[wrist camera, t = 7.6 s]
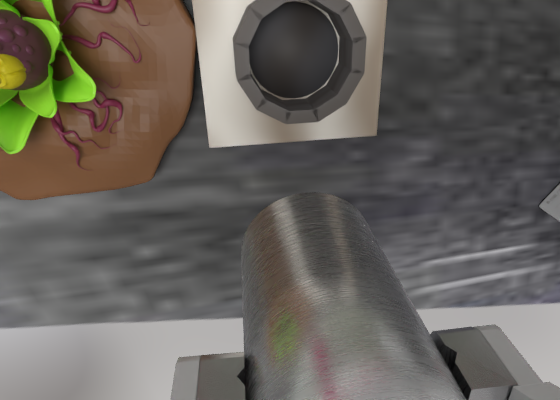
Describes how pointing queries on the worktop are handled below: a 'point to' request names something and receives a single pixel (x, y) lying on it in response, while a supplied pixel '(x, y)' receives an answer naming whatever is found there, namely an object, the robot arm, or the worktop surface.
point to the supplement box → (552, 203)
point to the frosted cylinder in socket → (330, 311)
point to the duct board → (289, 69)
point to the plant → (90, 92)
